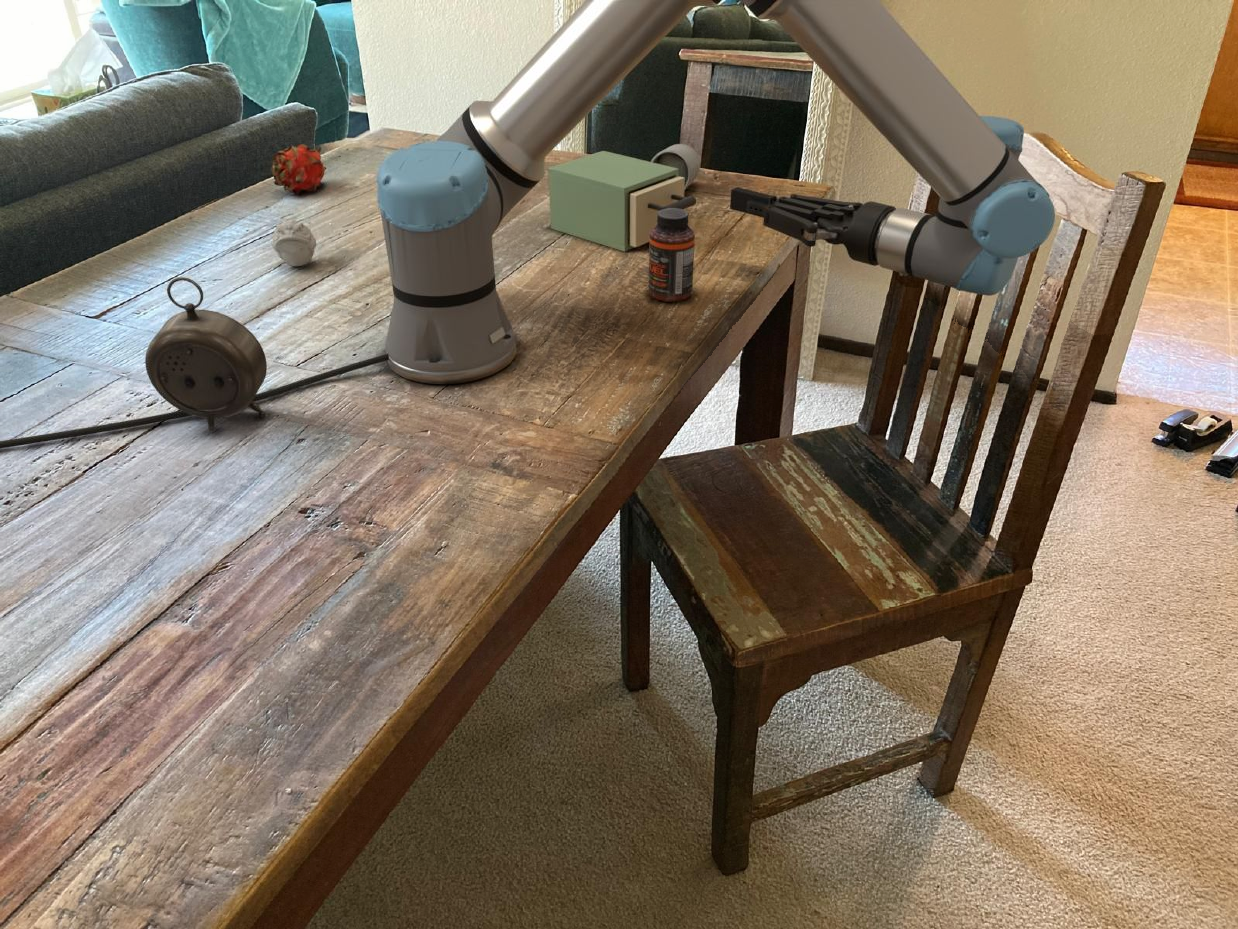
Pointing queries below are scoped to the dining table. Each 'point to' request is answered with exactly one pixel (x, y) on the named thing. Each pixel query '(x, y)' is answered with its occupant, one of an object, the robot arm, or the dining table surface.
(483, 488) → the dining table surface
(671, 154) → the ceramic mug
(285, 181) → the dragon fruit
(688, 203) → the drawer
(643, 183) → the cabinet
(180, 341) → the alarm clock
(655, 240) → the supplement bottle
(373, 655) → the dining table surface
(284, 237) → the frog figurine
